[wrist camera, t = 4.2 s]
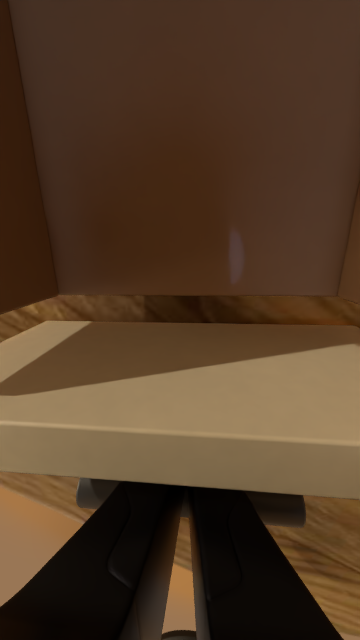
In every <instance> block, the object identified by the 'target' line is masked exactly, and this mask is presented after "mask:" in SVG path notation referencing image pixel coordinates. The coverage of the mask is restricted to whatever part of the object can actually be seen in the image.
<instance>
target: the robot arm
mask: <svg viewBox="0 0 360 640" xmlns="http://www.w3.org/2000/svg"><path fill="white" fill-rule="evenodd" d="M184 491H185V486H180V485H168V484H155V483H143V482H130V481H122V482H119V483H118V485H117V486H116V487H115V489H114V490H113V491H112V492H111V494H110V495H109V496H108V497H107V498H106V500H105V501H104V502H103V503H102V504H101V506H100V507H99V508H98V509H97V510H96V511H95V513H94V514H93V515H92V516H91V517H90V518H89V519H88V520H87V521H86V522H85V523H84V524H83V526H82V527H81V528H80V529H79V530H78V531H77V532H76V533H75V534H74V535H73V536H72V537H71V538H70V539H69V540H68V541H67V542H66V544H65V545H64V546H63V547H62V548H61V549H60V550H59V551H58V552H57V553H56V554H55V555H54V556H53V557H52V558H51V559H50V560H49V561H48V562H47V563H46V565H44V567H42V569H41V570H40V571H39V572H38V573H37V574H36V575H35V576H34V577H33V578H32V579H31V580H30V581H29V582H28V583H27V584H26V585H25V586H24V587H23V588H22V589H21V590H20V591H19V592H18V593H16V594H15V595H14V596H13V597H12V598H11V599H10V600H8V602H6V603H5V604H3V605H2V606H1V607H0V640H161V634H162V628H163V622H164V616H165V609H166V603H167V597H168V591H169V584H170V578H171V572H172V566H173V560H174V554H175V547H176V541H177V535H178V529H179V522H180V516H181V510H182V504H183V498H184ZM187 491H188V507H189V523H190V539H191V555H192V571H193V587H194V603H195V618H196V635H197V640H344V639H343V638H342V637H341V636H340V634H339V633H338V632H337V630H336V629H335V628H334V626H333V625H332V623H331V622H330V621H329V619H328V618H327V616H326V615H325V614H324V612H323V611H322V609H321V608H320V606H319V605H318V603H317V602H316V600H315V599H314V597H313V596H312V595H311V593H310V592H309V590H308V589H307V587H306V586H305V584H304V583H303V581H302V580H301V579H300V577H299V576H298V574H297V573H296V571H295V570H294V568H293V567H292V565H291V564H290V563H289V561H288V560H287V558H286V557H285V555H284V554H283V552H282V551H281V549H280V548H279V546H278V545H277V543H276V542H275V540H274V539H273V537H272V536H271V534H270V533H269V531H268V530H267V528H266V527H265V525H264V523H263V522H262V520H261V518H260V517H259V515H258V513H257V511H256V510H255V508H254V506H253V505H252V503H251V501H250V499H249V497H248V496H247V494H246V492H245V491H243V490H231V489H218V488H206V487H193V486H187Z"/></svg>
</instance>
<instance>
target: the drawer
mask: <svg viewBox="0 0 360 640" xmlns="http://www.w3.org/2000/svg"><path fill="white" fill-rule="evenodd" d="M58 295H144V296H338V297H340V298H343V299H346V300H348V301H351V302H354V303H357V304H360V0H0V314H3V313H6V312H9V311H12V310H15V309H18V308H21V307H24V306H28V305H31V304H34V303H37V302H40V301H43V300H46V299H49V298H52V297H55V296H58ZM0 471H4V472H17V473H29V474H42V475H54V476H67V477H80V479H79V483H78V487H77V493H76V502H77V505H78V506H79V507H80V508H89V509H98V508H99V507H100V506H101V504H102V503H103V502H104V501H105V500H106V498H107V497H108V496H109V495H110V494H111V492H112V491H113V490H114V489H115V487H116V486H117V485H118V483H119V482H122V481H130V482H143V483H155V484H168V485H180V486H185V491H184V498H183V504H182V510H181V516H180V517H187V518H189V507H188V491H187V486H193V487H206V488H218V489H231V490H243V491H245V492H246V494H247V496H248V497H249V499H250V501H251V503H252V505H253V506H254V508H255V510H256V511H257V513H258V515H259V517H260V518H261V520H262V522H263V523H264V525H275V526H286V527H296V528H302V527H304V525H305V522H306V510H305V503H304V498H303V495H307V496H319V497H332V498H344V499H357V500H360V328H358V327H356V326H350V325H286V324H223V323H159V322H96V321H45V322H43V323H41V324H39V325H37V326H35V327H33V328H30V329H28V330H26V331H24V332H22V333H20V334H18V335H16V336H13V337H11V338H9V339H7V340H5V341H3V342H1V343H0Z"/></svg>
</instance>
